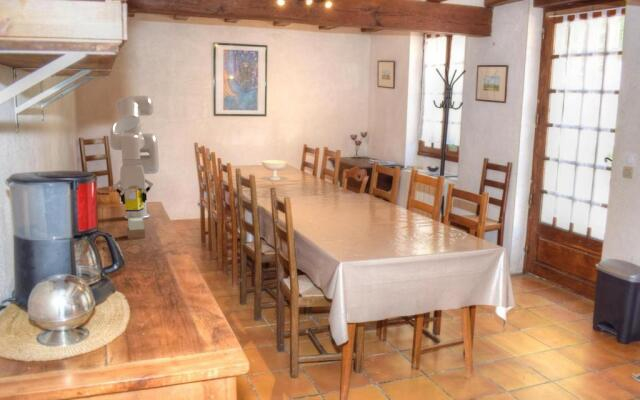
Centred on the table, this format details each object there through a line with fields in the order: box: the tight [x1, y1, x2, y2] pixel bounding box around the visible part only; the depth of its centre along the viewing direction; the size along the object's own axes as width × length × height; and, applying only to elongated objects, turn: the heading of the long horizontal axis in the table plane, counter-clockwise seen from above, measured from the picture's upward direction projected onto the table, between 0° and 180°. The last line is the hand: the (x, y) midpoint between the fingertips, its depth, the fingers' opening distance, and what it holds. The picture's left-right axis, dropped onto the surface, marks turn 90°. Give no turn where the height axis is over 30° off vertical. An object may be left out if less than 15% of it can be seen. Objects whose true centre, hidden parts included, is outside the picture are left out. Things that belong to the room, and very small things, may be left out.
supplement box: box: [124, 186, 144, 213], centre depth 253 cm, size 6×6×11 cm
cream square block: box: [127, 218, 145, 230], centre depth 255 cm, size 6×6×4 cm
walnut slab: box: [126, 226, 146, 240], centre depth 256 cm, size 7×7×4 cm
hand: (134, 202), depth 254 cm, fingers closed on supplement box, 8 cm apart
